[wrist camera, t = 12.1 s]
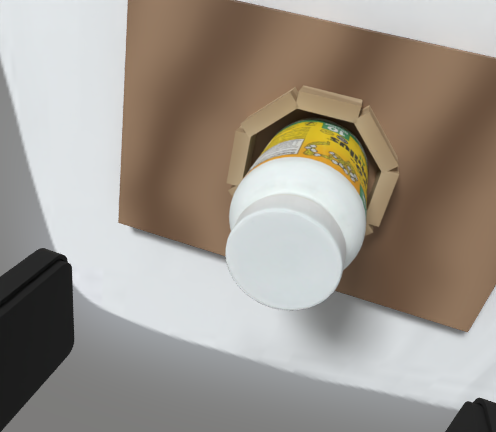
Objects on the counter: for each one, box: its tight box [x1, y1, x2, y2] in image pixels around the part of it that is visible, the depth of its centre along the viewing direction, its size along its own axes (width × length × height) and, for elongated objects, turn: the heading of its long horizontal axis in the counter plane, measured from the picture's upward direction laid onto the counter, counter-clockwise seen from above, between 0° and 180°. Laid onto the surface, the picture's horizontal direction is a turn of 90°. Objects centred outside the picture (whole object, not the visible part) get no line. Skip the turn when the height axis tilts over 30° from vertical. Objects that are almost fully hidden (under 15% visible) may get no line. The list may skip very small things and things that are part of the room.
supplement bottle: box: [226, 118, 368, 311], centre depth 18 cm, size 5×5×10 cm
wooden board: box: [118, 0, 496, 332], centre depth 22 cm, size 22×14×3 cm, turn 79°
